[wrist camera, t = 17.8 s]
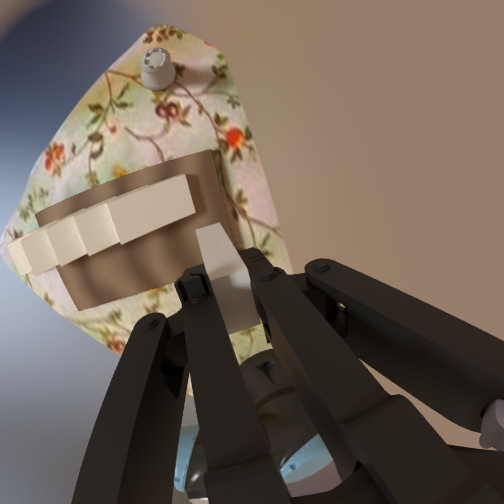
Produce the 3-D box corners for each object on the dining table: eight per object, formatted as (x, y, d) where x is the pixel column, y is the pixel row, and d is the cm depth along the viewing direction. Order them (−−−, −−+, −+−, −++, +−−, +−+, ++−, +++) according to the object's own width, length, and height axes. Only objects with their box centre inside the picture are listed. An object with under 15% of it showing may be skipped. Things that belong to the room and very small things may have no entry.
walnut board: (209, 149, 34) (210, 149, 33) (236, 257, 41) (238, 261, 39) (39, 211, 30) (34, 214, 29) (81, 306, 37) (78, 311, 35)
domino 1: (56, 221, 29) (7, 245, 27) (69, 255, 31) (20, 275, 29) (60, 218, 30) (12, 241, 28) (73, 251, 32) (25, 271, 31)
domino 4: (149, 185, 31) (73, 217, 26) (161, 223, 33) (89, 256, 28) (146, 184, 32) (73, 215, 27) (157, 221, 34) (88, 253, 30)
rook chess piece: (159, 55, 27) (155, 33, 20) (182, 73, 29) (185, 55, 22) (134, 79, 28) (124, 62, 21) (158, 97, 30) (154, 85, 22)
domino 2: (84, 209, 29) (20, 241, 25) (98, 245, 32) (35, 276, 27) (84, 207, 31) (22, 239, 26) (97, 242, 33) (36, 272, 28)
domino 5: (185, 174, 32) (106, 203, 27) (195, 212, 34) (121, 244, 29) (180, 174, 33) (105, 202, 28) (190, 211, 35) (119, 241, 30)
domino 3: (116, 196, 30) (45, 229, 26) (129, 233, 32) (61, 266, 28) (115, 196, 31) (46, 227, 27) (127, 231, 34) (61, 263, 29)
